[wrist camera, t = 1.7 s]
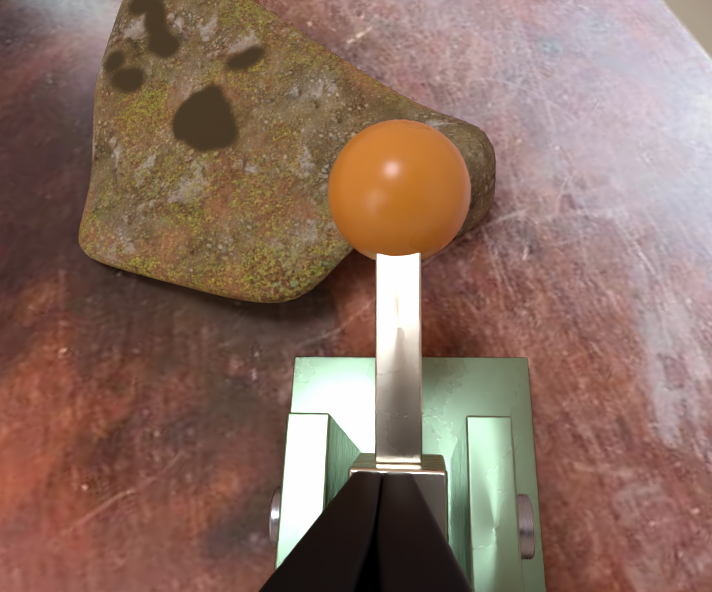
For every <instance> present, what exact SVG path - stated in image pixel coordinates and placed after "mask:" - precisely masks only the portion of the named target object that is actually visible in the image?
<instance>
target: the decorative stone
mask: <svg viewBox="0 0 712 592" xmlns="http://www.w3.org/2000/svg"><path fill="white" fill-rule="evenodd" d="M396 119H406V120H413V121H418V122H421V123H424V124H427V125H429V126H432V127H433V128H435V129H437V130H438V131H440V132H441V133H442V134H444V135H445V136H446V137H447V138H449V139H450V141H451V142H452V143H453V144H454V145H455V146H456V147H457V149H458V150H459V151H460V153H461V155H462V157H463V159H464V161H465V164H466V166H467V169H468V172H469V177H470V184H471V197H470V205H469V210H468V213H467V216H466V219H465V221H464V223H463V225H462V227H461V228H460V230H459V231H458V233H457V234H456V236H459V235H462V234H463V233H465V232H467V231H469V230H470V229H472V228H473V227H474V226H475V225H476V224H477V223H478V222H479V221H480V220H481V219H482V218H483V216H484V215H485V214H486V212H487V211H488V210H489V208H490V206H491V203H492V200H493V198H494V194H495V168H496V161H495V153H494V149H493V146H492V144H491V143H490V141H489V139H488V137H487V135H486V134H485V132H483V131H482V130H480V129H479V128H478V127H476V126H474V125H472V124H470V123H467V122H465V121H462V120H459V119H457V118H454V117H451V116H448V115H445V114H442V113H439V112H437V111H434V110H431V109H429V108H427V107H425V106H422V105H420V104H418V103H416V102H414V101H412V100H410V99H408V98H406V97H404V96H402V95H400V94H399V93H397V92H395V91H394V90H392V89H390V88H388V87H387V86H385V85H383V84H382V83H380V82H378V81H377V80H375V79H373V78H372V77H370V76H369V75H367V74H365V73H364V72H362V71H361V70H359V69H358V68H356V67H354V66H353V65H351V64H350V63H348V62H347V61H345V60H344V59H342V58H341V57H339V56H337V55H336V54H334V53H333V52H331V51H330V50H328V49H327V48H325V47H324V46H322V45H321V44H319V43H318V42H316V41H315V40H313V39H311V38H310V37H308V36H307V35H305V34H304V33H302V32H301V31H299V30H298V29H296V28H295V27H293V26H292V25H290V24H288V23H287V22H285V21H284V20H282V19H281V18H279V17H278V16H276V15H274V14H273V13H271V12H270V11H268V10H267V9H265V8H264V7H262V6H260V5H259V4H257V3H256V2H254V1H253V0H123V1H122V4H121V6H120V9H119V12H118V15H117V18H116V21H115V23H114V26H113V29H112V32H111V35H110V38H109V41H108V44H107V47H106V50H105V53H104V56H103V59H102V62H101V65H100V68H99V72H98V76H97V81H96V87H95V97H94V116H93V152H92V169H91V179H90V185H89V191H88V195H87V200H86V204H85V208H84V212H83V216H82V220H81V224H80V229H79V244H80V246H81V248H82V250H83V251H84V252H85V253H86V254H87V255H88V256H89V257H90V258H92V259H94V260H96V261H98V262H101V263H103V264H106V265H109V266H112V267H115V268H119V269H122V270H126V271H129V272H133V273H136V274H140V275H143V276H147V277H151V278H154V279H158V280H162V281H165V282H169V283H173V284H177V285H180V286H184V287H188V288H192V289H195V290H199V291H203V292H207V293H211V294H215V295H219V296H223V297H228V298H233V299H238V300H242V301H250V302H259V303H280V302H286V301H289V300H293V299H296V298H299V297H301V296H302V295H304V294H306V293H308V292H309V291H311V290H312V289H313V288H315V287H316V286H317V285H318V284H319V283H320V282H322V281H323V280H324V279H325V278H326V277H327V276H328V275H329V274H330V273H331V272H332V271H333V269H334V268H335V267H336V266H337V265H338V264H339V263H340V262H341V261H342V260H343V259H344V258H345V257H346V256H347V255H348V254H349V253H350V252H351V251H352V250H353V249H355V248H353V247H352V246H351V245H350V244H349V243H348V242H347V241H346V240H345V239H344V238H343V236H342V235H341V233H340V232H339V230H338V229H337V227H336V225H335V223H334V220H333V217H332V214H331V211H330V207H329V202H328V186H329V178H330V174H331V170H332V168H333V165H334V163H335V161H336V159H337V157H338V155H339V153H340V152H341V150H342V149H343V148H344V146H345V145H346V144H347V143H348V142H349V141H350V140H351V139H352V138H353V137H354V136H355V135H356V134H358V133H359V132H361V131H362V130H364V129H366V128H367V127H369V126H371V125H374V124H377V123H379V122H383V121H388V120H396Z"/></svg>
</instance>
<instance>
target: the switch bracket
mask: <svg viewBox="0 0 712 592" xmlns="http://www.w3.org/2000/svg"><path fill="white" fill-rule="evenodd" d="M362 452H365V453H375V357H332V356H296V357H295V358H294V370H293V382H292V394H291V407H290V413H288V414H287V423H286V435H285V447H284V459H283V471H282V483H281V486H279V487H277V488H276V489H275V491H274V494H273V497H272V500H271V505H270V512H269V538H270V543H271V545H272V546H273V547H274V548H276V555H275V567H274V572H275V570H276V569H277V568H278V567H279V565H280V564H281V563H282V562H283V560H284V559H285V558H286V557H287V555H288V554H289V553H290V552H291V550H292V549H293V548H294V547H295V545H296V544H297V543H298V542H299V540H300V539H301V538H302V537H303V535H304V534H305V533H306V532H307V530H308V529H309V528H310V527H311V525H312V524H313V523H314V522H315V520H316V519H317V518H318V517H319V515H320V514H321V513H322V512H323V510H324V509H325V508H326V507H327V505H328V504H329V503H330V502H331V500H332V499H333V498H334V497H335V495H336V494H337V493H338V491H339V490H340V489H341V488H342V486H343V485H344V484H345V483H346V481H347V480H348V469H349V467H350V466H351V465H352V463H353V462H354V461H355V459H356V458H357V457H358V455H359V454H360V453H362ZM422 454H441V455H443V457H444V460H445V464H446V469H447V473H448V535H449V546H450V548H451V550H452V552H453V554H454V556H455V558H456V560H457V562H458V563H459V565H460V567H461V569H462V571H463V573H464V575H465V577H466V579H467V581H468V583H469V585H470V587H471V589H472V591H473V592H546V584H545V572H544V559H543V546H542V533H541V521H540V508H539V495H538V483H537V470H536V457H535V445H534V432H533V419H532V406H531V394H530V381H529V368H528V359H527V358H524V357H422Z"/></svg>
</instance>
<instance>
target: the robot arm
mask: <svg viewBox="0 0 712 592" xmlns="http://www.w3.org/2000/svg"><path fill="white" fill-rule="evenodd" d="M259 592H473V591H472V589H471V587H470V585H469V583H468V581H467V579H466V577H465V575H464V573H463V571H462V569H461V567H460V565H459V563H458V562H457V560H456V558H455V556H454V554H453V552H452V550H451V548H450V546H449V544H448V542H447V540H446V538H445V536H444V534H443V532H442V531H441V529H440V527H439V525H438V523H437V521H436V519H435V517H434V515H433V513H432V511H431V509H430V507H429V505H428V503H427V502H426V500H425V498H424V496H423V494H422V492H421V490H420V488H419V486H418V484H417V482H416V480H415V478H414V477H413V475H412V474H411V473H409V472H386V473H385V474H384V475H382V473H381V472H378V471H356V472H354V473H353V474H352V475H351V476H350V478H349V479H348V480H347V481H346V483H345V484H344V485H343V486H342V488H341V489H340V490H339V491H338V493H337V494H336V495H335V497H334V498H333V499H332V500H331V502H330V503H329V504H328V505H327V507H326V508H325V509H324V510H323V512H322V513H321V514H320V515H319V517H318V518H317V519H316V520H315V522H314V523H313V524H312V525H311V527H310V528H309V529H308V530H307V532H306V533H305V534H304V535H303V537H302V538H301V539H300V540H299V542H298V543H297V544H296V545H295V547H294V548H293V549H292V550H291V552H290V553H289V554H288V555H287V557H286V558H285V559H284V560H283V562H282V563H281V564H280V565H279V567H278V568H277V569H276V570H275V572H274V573H273V574H272V575H271V577H270V578H269V579H268V580H267V582H266V583H265V584H264V586H263V587H262V588H261V589H260V591H259Z"/></svg>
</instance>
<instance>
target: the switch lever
mask: <svg viewBox="0 0 712 592" xmlns="http://www.w3.org/2000/svg"><path fill="white" fill-rule="evenodd" d="M470 197H471V184H470V177H469V172H468V169H467V166H466V164H465V161H464V159H463V157H462V155H461V153H460V151H459V150H458V149H457V147H456V146H455V145H454V144H453V143H452V142H451V141H450V139H449V138H447V137H446V136H445V135H444V134H442V133H441V132H440V131H438V130H437V129H435V128H433V127H432V126H429V125H427V124H424V123H421V122H418V121H413V120H406V119H396V120H388V121H383V122H379V123H377V124H374V125H371V126H369V127H367V128H366V129H364V130H362V131H361V132H359V133H358V134H356V135H355V136H354V137H353V138H352V139H351V140H350V141H349V142H348V143H347V144H346V145H345V146H344V148H343V149H342V150H341V152H340V153H339V155H338V157H337V159H336V161H335V163H334V165H333V168H332V170H331V174H330V178H329V186H328V202H329V207H330V211H331V214H332V217H333V220H334V223H335V225H336V227H337V229H338V230H339V232H340V233H341V235H342V236H343V238H344V239H345V240H346V241H347V242H348V243H349V244H350V245H351V246H352V247H353V248H355V249H356V250H357V251H358V252H360V253H361V254H363V255H365V256H367V257H369V258H371V259H373V260H376V268H375V453H365V452H362V453H360V454H359V455H358V457H357V458H356V459H355V461H354V462H353V463H352V465H351V466H350V467H349V469H348V479H349V478H350V476H351V475H352V474H353V473H354V472H356V471H378V472H381V473H382V475H384V474H385V473H386V472H409V473H411V474H412V475H413V477H414V478H415V480H416V482H417V484H418V486H419V488H420V490H421V492H422V494H423V496H424V498H425V500H426V502H427V503H428V505H429V507H430V509H431V511H432V513H433V515H434V517H435V519H436V521H437V523H438V525H439V527H440V529H441V531H442V532H443V534H444V536H445V538H446V540H447V542H448V544H449V535H448V473H447V469H446V464H445V460H444V457H443V455H441V454H422V317H421V260H423V259H426V258H428V257H430V256H432V255H434V254H436V253H437V252H439V251H440V250H442V249H443V248H444V247H445V246H447V245H448V244H449V243H450V242H451V241H452V239H453V238H454V237H455V236H456V234H457V233H458V231H459V230H460V228H461V227H462V225H463V223H464V221H465V219H466V216H467V213H468V210H469V205H470Z"/></svg>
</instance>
